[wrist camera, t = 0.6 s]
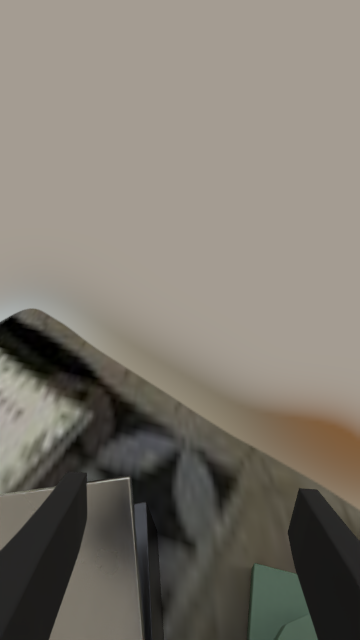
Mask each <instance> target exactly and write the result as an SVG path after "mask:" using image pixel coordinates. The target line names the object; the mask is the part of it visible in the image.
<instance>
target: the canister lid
mask: <svg viewBox="0 0 360 640" xmlns="http://www.w3.org/2000/svg"><path fill="white" fill-rule="evenodd" d="M55 487H56V486H55ZM55 487H48V488H41V489H34V490H28V491H21V492H14V493H7V494H0V550H1V549H2V548H3V547H4V546H5V545H6V544H7V543H8V542H9V541H10V540H11V539H12V538H13V537H14V536H15V535H16V533H17V532H18V531H19V530H20V529H21V528H22V527H23V526H24V525H25V523H26V522H27V521H28V520H29V519H30V518H31V516H32V515H33V514H34V513H35V512H36V511H37V509H38V508H39V507H40V506H41V505H42V503H43V502H44V501H45V500H46V498H47V497H48V496H49V495H50V493H51V492H52V491H53V490H54V488H55ZM49 640H145V635H144V623H143V611H142V599H141V587H140V575H139V564H138V552H137V540H136V528H135V516H134V504H133V493H132V481H131V476H123V477H116V478H109V479H102V480H96V481H89V482H87V522H86V526H85V530H84V535H83V539H82V543H81V547H80V551H79V554H78V557H77V560H76V563H75V566H74V569H73V572H72V574H71V577H70V580H69V583H68V586H67V589H66V592H65V595H64V597H63V600H62V603H61V606H60V609H59V612H58V615H57V617H56V620H55V623H54V626H53V629H52V632H51V635H50V638H49Z"/></svg>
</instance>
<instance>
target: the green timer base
mask: <svg viewBox="0 0 360 640" xmlns="http://www.w3.org/2000/svg"><path fill="white" fill-rule="evenodd" d="M247 640H318V638H317V635H316V632H315V629H314V626H313V623H312V619H311V616H310V613H309V610H308V607H307V604H306V601H305V598H304V594H303V591H302V588H301V585H300V582H299V579H298V575H297V574H295V573H291V572H287V571H283V570H279V569H275V568H271V567H267V566H264V565H260V564H256V563H254V565H253V567H252V573H251V587H250V601H249V616H248V630H247Z"/></svg>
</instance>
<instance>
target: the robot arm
mask: <svg viewBox="0 0 360 640" xmlns="http://www.w3.org/2000/svg"><path fill="white" fill-rule="evenodd" d="M86 522H87V473H82V472H67V473H66V474H65V475H64V476H63V478H62V479H61V480H60V482H59V483H58V484H57V486H56V487H55V488H54V490H53V491H52V492H51V493H50V495H49V496H48V497H47V498H46V500H45V501H44V502H43V503H42V505H41V506H40V507H39V508H38V509H37V511H36V512H35V513H34V514H33V515H32V516H31V518H30V519H29V520H28V521H27V522H26V523H25V525H24V526H23V527H22V528H21V529H20V530H19V531H18V532H17V533H16V535H15V536H14V537H13V538H12V539H11V540H10V541H9V542H8V543H7V544H6V545H5V546H4V547H3V548H2V549H1V550H0V640H49V638H50V635H51V632H52V629H53V626H54V623H55V620H56V617H57V615H58V612H59V609H60V606H61V603H62V600H63V597H64V595H65V592H66V589H67V586H68V583H69V580H70V577H71V574H72V572H73V569H74V566H75V563H76V560H77V557H78V554H79V551H80V547H81V543H82V539H83V535H84V530H85V526H86ZM288 536H289V541H290V546H291V551H292V556H293V560H294V565H295V569H296V572H297V575H298V579H299V582H300V585H301V588H302V591H303V594H304V598H305V601H306V604H307V607H308V610H309V613H310V616H311V619H312V623H313V626H314V629H315V632H316V635H317V638H318V640H360V541H359V540H358V539H357V537H356V536H355V535H354V534H353V533H352V532H351V530H350V529H349V528H348V527H347V526H346V524H345V523H344V522H343V521H342V519H341V518H340V517H339V516H338V515H337V513H336V512H335V511H334V510H333V508H332V507H331V506H330V505H329V504H328V502H327V501H326V500H325V499H324V497H323V496H322V495H321V494H320V493H319V491H318V490H315V489H301V488H299V491H298V495H297V499H296V503H295V507H294V510H293V514H292V518H291V522H290V526H289V530H288Z"/></svg>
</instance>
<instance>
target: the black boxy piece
mask: <svg viewBox="0 0 360 640" xmlns="http://www.w3.org/2000/svg"><path fill="white" fill-rule="evenodd" d="M134 516H135V528H136V540H137V552H138V564H139V575H140V587H141V599H142V611H143V623H144V635H145V640H164V633H163V618H162V602H161V587H160V571H159V555H158V540H157V530H156V527H155V524H154V521H153V519H152V516H151V514H150V511H149V508H148V506H147V503H146V502H142V503H136V504H134Z"/></svg>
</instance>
